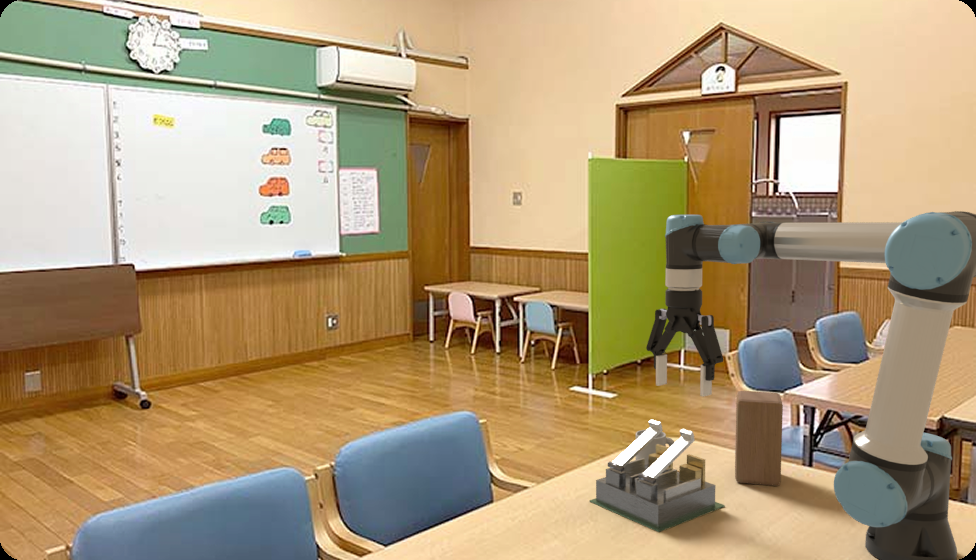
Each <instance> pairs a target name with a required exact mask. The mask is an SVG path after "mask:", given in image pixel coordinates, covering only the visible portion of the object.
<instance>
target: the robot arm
mask: <svg viewBox="0 0 976 560" xmlns="http://www.w3.org/2000/svg"><path fill="white" fill-rule="evenodd" d="M665 224H666V225H665V227H666V228H665V234H664V237H665V256H666V257H665V284H664V285H665V287H667V289H666V290H665V298H664V300H665V301H664V303H665V306H666V307H667V308H660V309H656V310H655V312H654V321H653V323H652V324H653V325H652V328H651V331H650V335H649V338H648V340H647V344H646V347H645V349H646V351H647V352H650V353H652V354H653V369H654V370H655V386H658V387H659V386H664V385H668V354H666V353H667V352H666V350H667V348H668V346H669V345H670V343H671V342H672V340H673V339H674V337H675V335H676V333H678V332H680V333H684V334H686V335H687V336H688V337H689V338H691V340H692V343H693V344H694V346H695V348H696V350H697V353H698V354H699V357H700V359H701V360H702V364H700V377H699V378H700V379H699V380H700V382H699V383H700V388H699V389H700V393H699V394H700V395H699V397H703V398H704V397H706V396H707V397H708V396H712V395H713V394H712V393H713V392H712V389H713V387H712V386H713V381H714V380H715V369H716V368H715V366H716V365H717V364H720V363H723V362H724V356H723V353H722V349H721V346H720V343H719V340H718V336H717V332H716V328H715V325H714V323H715V318H714V317H715V316H714V315H712V314H709V315H704V314H703V315H702V312H701V309H702V305H703V290H702V289H701V287H702V286H703V264H704V263H703V262H713V263H723V264H724V263H726V264H727V263H728V264H731V265H737V264H739V265H740V264H751V263H752V262H754V260H761V259H766V260H767V259H768V260H798V261H799V260H800V261H801V260H802V261H821V262H822V261H823V262H825V261H826V262H846V263H847V262H849V263H869V264H870V263H871V264H886V265H885V266H886V267H887V268H888V271H889V273H890V274H889V279H888V285H887V290H888V291H889V292H890V293H891V295H892V297H893V298H894V304H893V308H892V313H891V317H890V322H889V326H888V330H887V334H886V339H885V344H884V347H883V348H884V349H883V352H882V356H881V360H880V365H879V370H878V373H877V378H876V383H875V387H874V391H873V395H872V400H871V405H870V409H869V414H868V418H867V422H866V426H865V430H863V431H860V432H859V433H857V434H855V435H854V437H853V439H852V440H853V441H852V445H851V447H850V453H849V457H848V461H847V462H845V463H844V464H842V465H841V466H840V467H839V469H838V470H837V471H836V473H835V476H834V479H833V491H834V496H835V497H836V500H837V502H838V503H839V504H840V506H842V509H843V510H844V511H845V513H846V514H847V515H848V516H850V518H852V519H853V520H855V521H856V522H858V523H860V524H862V525H865V526H868V528H867V530H866V533H865V540H864V541H865V544H864V545H865V549H866V550H867V551H868V553H869V554H871V556H873V557H874V558H876V559H877V560H958V558H957V557H958V548H957V544H956V541H955V538H954V535H953V532H952V528H951V525H950V522H949V500H950V485H951V483H950V482H951V468H952V467H951V465H952V460H953V456H952V446H951V444H950V442H949V441H948V440H947V439H945V438H943V437H942V436H938V435H936V434H932V433H928V432H924V431H925V428H926V425H927V419H928V416H929V412H930V408H931V403H932V399H933V395H934V391H935V388H936V383H937V379H938V375H939V371H940V367H941V363H942V359H943V355H944V351H945V347H946V342H947V338H948V334H949V330H950V326H951V322H952V319H953V316H954V315H953V314H954V311H955V310H957V309H959V308H961V307H962V306H964V305H966V304H967V303H968V300H969V295H970V291H971V286H972V283H973V280H974V278H976V213H973V212H970V211H963V210H962V211H961V210H960V211H957V210H955V211H945V212H944V211H943V212H942V211H941V212H940V211H939V212H934V211H930V212H924V213H919V214H918V215H916V216H913V217H910V218H908V219H905V220H904V221H901V222H897V221H896V222H893V221H892V222H888V221H887V222H885V221H884V222H873V221H871V222H864V221H863V222H858V221H857V222H854V221H853V222H850V221H849V222H775V221H761V222H754V223H739V224H738V223H737V224H705V223H704V218H703V215H701V214H672V215H670V216H668V217H667V219H666V223H665ZM667 321H668V322H667ZM666 323H667V324H666Z"/></svg>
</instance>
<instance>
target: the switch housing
mask: <svg viewBox="0 0 976 560" xmlns="http://www.w3.org/2000/svg"><path fill="white" fill-rule="evenodd" d="M669 448H670V447H669V446H663V445H660V444H657V445H656V453H653V454H650V455H649V463H648V464H646V465H645V459H644V458H641V459H638V460H636V459H635V460H631V461H630V462H629V463H628V464H627V465H626V466H625V467H624V471H623V472H621V471H618V470H615V469H613V468H610V467H608V468H606V469H605V477H602V478H598V479H596V480H595V481H596V482H595V495H596V496H595V498H592V499H590V500H589V502H590V503H592V504H594V505H597V506H598V507H601V508H603V509H606V510H608V511H610V512H613V513H614V514H617V515H619V516H621V517H624V518H625V519H628V520H630V521H633V522H635V523H637V524H639V525H641V526H643V527H647V528H648V529H651V530H653V531H655V532H658V533H660V532H663V531H665V530H667V529H671V528H672V527H675V526H679V525H681V524H683V523H686V522H688V521H691V520H694V519H696V518H699V517H701V516H703V515H707V514H709V513H711V512H714V511H717V510H719V509H720V510H721V509H722V508H724V507H725V506H726V505H725V504H722V503H720V502H717V501H716V484H713V483H711V482H708V481H706V459H705V458H702V457H699V456H696V455H693V454H690V453H688V454H686V463H684V464H680V465H679V469H678V470H677V469H674V461H673V462H672V463H671V464H670V465H669V466H668V467H667V468H666V469H665V470H664V471H663V472H662V473H661V474H660V475H659V476H658V477H657V478H656V482H655V484H652V483H649V482H647V481H644V480H642V479H639V478H638V475H639V473H642V474H643V473H644V472H645V471H646V470H647V469H648V468H649V467H650V466H651V465H652V464H653V463H654V462H655V461H656V460H657V459H659V458H660V457H661V456H662V455H663V454H664V453H665V452H666V451H667V450H668V449H669Z"/></svg>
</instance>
